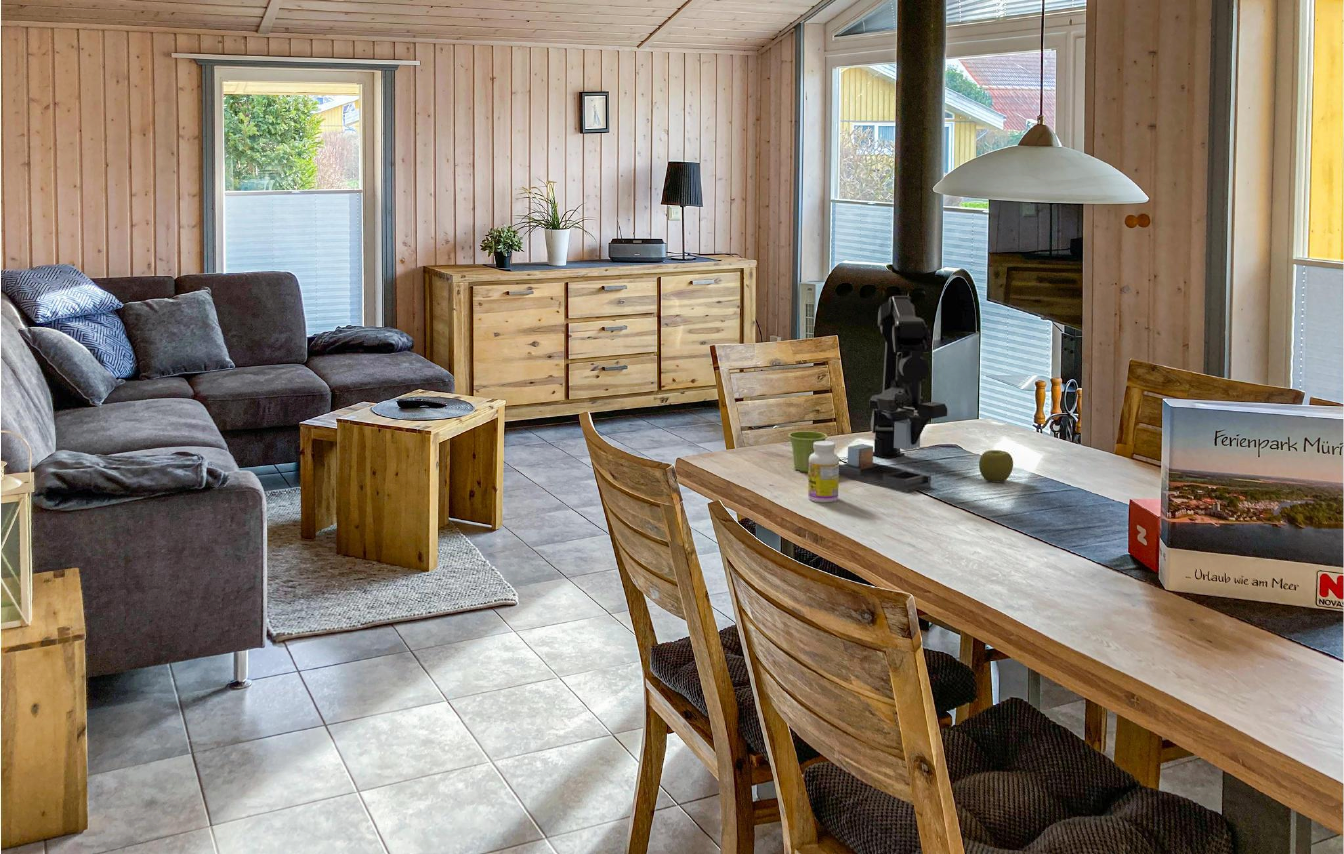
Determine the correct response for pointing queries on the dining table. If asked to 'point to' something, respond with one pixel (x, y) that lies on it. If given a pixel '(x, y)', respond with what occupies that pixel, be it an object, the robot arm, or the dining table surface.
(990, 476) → the apple
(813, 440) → the plant pot
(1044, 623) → the dining table surface
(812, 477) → the supplement bottle
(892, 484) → the rail
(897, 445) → the block
